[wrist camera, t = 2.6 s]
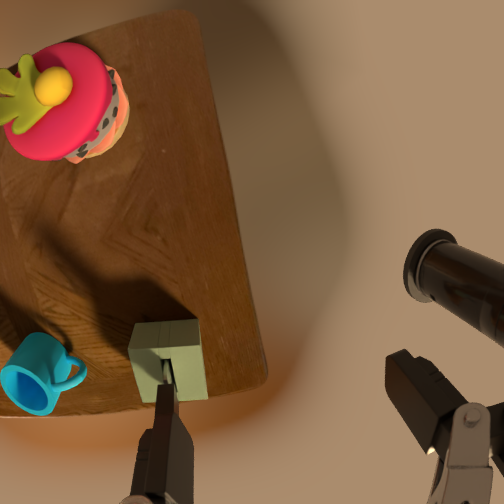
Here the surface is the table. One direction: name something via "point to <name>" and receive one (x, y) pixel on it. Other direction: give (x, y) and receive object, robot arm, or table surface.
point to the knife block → (168, 346)
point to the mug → (39, 373)
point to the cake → (62, 104)
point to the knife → (167, 392)
